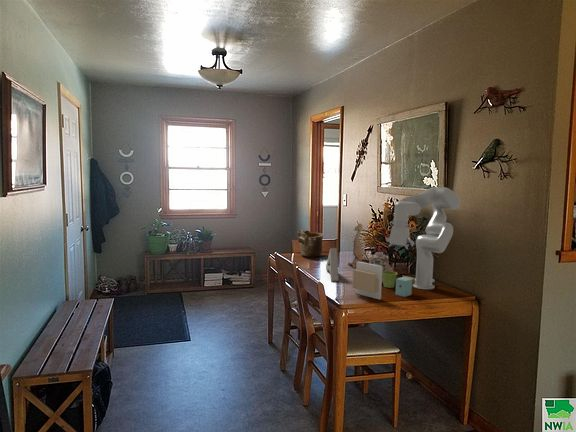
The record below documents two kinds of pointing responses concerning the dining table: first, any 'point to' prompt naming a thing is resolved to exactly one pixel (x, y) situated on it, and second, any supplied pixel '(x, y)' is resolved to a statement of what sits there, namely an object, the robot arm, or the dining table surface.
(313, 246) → the ceramic vessel
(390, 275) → the plant pot
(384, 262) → the decorative jar
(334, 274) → the wall bracket
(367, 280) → the wall board
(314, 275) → the dining table surface
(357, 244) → the bird sculpture
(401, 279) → the teal cabinet
